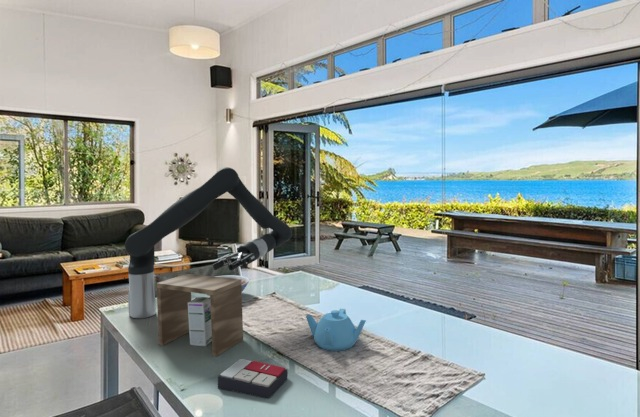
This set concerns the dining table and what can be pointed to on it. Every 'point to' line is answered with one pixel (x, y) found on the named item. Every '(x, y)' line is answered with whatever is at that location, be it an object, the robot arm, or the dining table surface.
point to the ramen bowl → (243, 279)
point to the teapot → (335, 330)
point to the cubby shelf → (223, 308)
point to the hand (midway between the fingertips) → (221, 267)
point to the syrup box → (200, 321)
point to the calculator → (252, 378)
